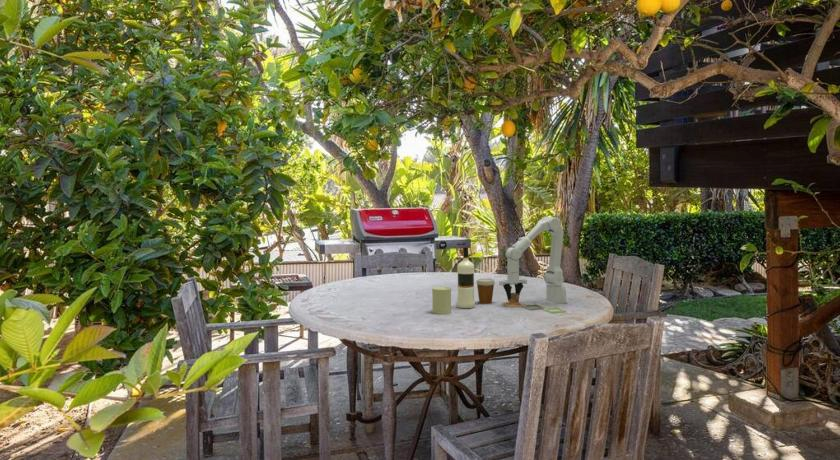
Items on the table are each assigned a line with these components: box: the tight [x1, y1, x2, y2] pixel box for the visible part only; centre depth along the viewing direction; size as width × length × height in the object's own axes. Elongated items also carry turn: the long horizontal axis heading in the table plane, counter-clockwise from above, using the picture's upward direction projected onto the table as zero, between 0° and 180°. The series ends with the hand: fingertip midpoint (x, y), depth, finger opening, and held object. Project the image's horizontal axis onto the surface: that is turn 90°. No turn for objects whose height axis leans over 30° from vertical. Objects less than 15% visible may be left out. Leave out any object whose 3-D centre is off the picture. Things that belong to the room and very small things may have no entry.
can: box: [431, 286, 452, 315], centre depth 278 cm, size 9×9×12 cm
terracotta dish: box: [501, 301, 525, 308], centre depth 291 cm, size 8×8×1 cm
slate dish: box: [521, 303, 546, 311], centre depth 284 cm, size 8×8×1 cm
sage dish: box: [542, 306, 567, 315], centre depth 277 cm, size 8×8×1 cm
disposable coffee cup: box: [475, 278, 496, 305], centre depth 298 cm, size 10×10×12 cm
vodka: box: [456, 246, 476, 310], centre depth 288 cm, size 9×9×30 cm
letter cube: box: [507, 292, 520, 303], centre depth 290 cm, size 4×4×4 cm
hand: (513, 298), depth 291 cm, fingers closed on letter cube, 4 cm apart
